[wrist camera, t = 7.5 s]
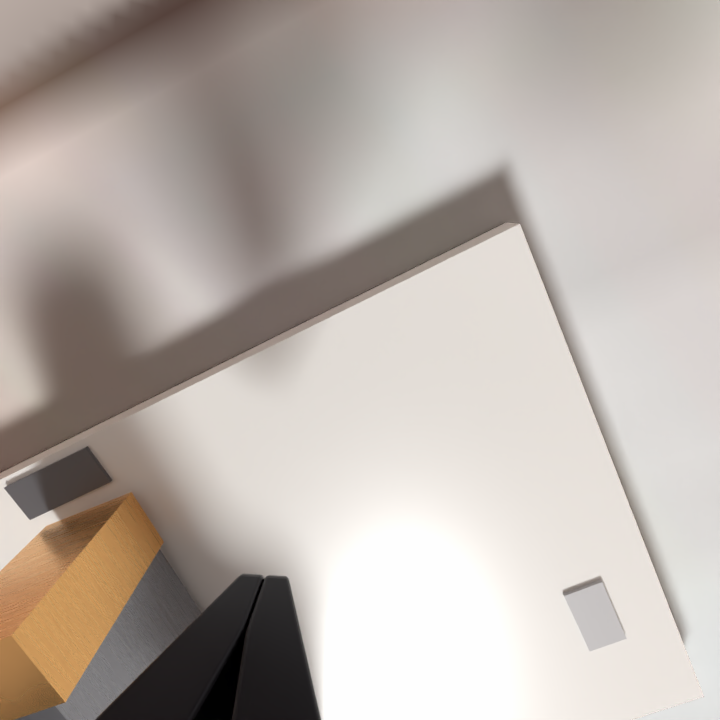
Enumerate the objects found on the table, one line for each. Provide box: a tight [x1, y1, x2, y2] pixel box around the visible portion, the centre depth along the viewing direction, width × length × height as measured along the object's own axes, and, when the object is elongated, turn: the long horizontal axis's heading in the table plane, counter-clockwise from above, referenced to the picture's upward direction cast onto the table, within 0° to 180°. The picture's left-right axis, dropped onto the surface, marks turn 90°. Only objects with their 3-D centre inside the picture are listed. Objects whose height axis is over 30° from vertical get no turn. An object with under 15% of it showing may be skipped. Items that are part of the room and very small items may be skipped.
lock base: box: [0, 222, 704, 720], centre depth 13 cm, size 20×14×1 cm
